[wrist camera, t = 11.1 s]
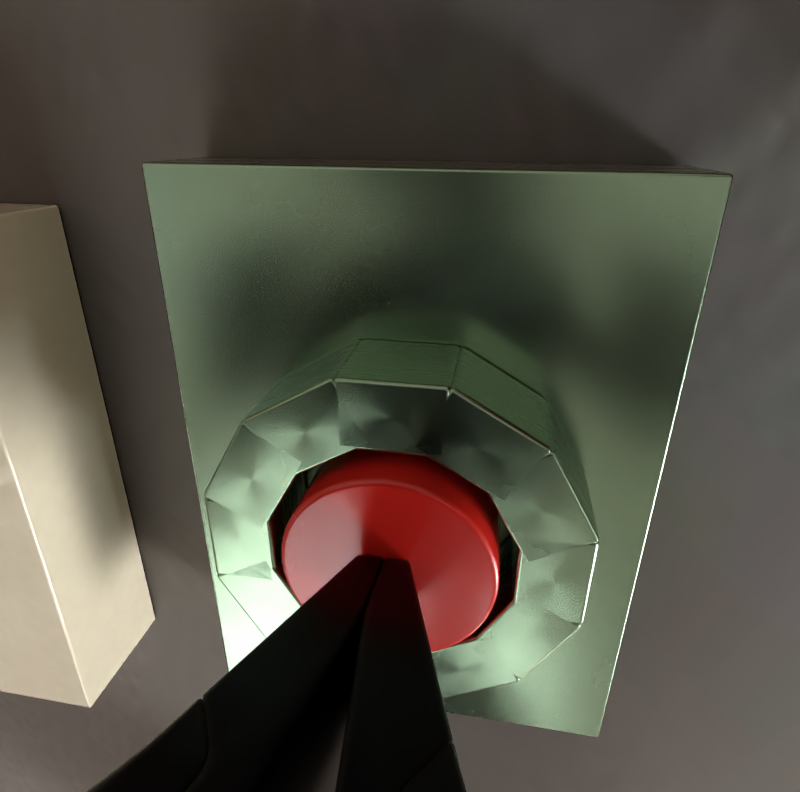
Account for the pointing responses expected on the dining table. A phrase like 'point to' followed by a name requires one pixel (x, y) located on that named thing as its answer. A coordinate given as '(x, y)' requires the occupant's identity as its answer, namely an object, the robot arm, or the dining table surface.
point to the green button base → (442, 378)
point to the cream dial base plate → (58, 483)
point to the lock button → (400, 535)
